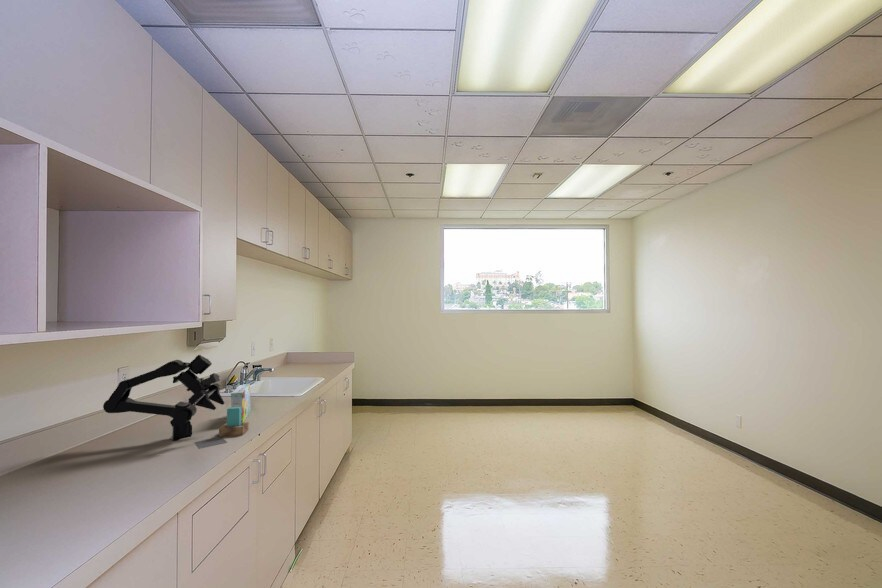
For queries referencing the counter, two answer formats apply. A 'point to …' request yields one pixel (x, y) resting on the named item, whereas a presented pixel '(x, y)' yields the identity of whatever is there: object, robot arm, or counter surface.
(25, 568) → the counter surface
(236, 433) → the slot box
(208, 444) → the rubber mat
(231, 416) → the teal block
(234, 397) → the snack box
